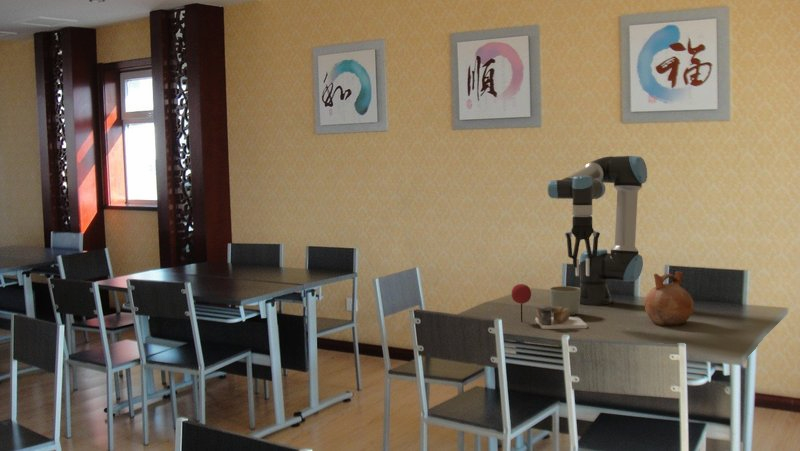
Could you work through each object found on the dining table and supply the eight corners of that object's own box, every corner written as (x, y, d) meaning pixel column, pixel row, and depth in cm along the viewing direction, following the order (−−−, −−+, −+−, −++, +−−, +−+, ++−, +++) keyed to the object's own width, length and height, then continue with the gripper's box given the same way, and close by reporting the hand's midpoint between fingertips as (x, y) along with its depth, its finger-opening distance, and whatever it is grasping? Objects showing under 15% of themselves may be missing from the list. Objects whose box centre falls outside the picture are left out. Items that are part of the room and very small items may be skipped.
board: (578, 319, 326) (578, 316, 326) (587, 328, 310) (587, 325, 310) (535, 320, 326) (535, 317, 326) (542, 329, 310) (542, 325, 310)
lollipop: (532, 320, 327) (532, 283, 325) (529, 324, 320) (529, 286, 318) (513, 319, 329) (513, 282, 328) (510, 323, 322) (509, 285, 321)
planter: (586, 314, 337) (586, 288, 336) (570, 319, 328) (570, 292, 327) (560, 310, 345) (560, 285, 344) (544, 315, 336) (544, 289, 335)
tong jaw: (569, 318, 321) (569, 302, 321) (557, 326, 308) (557, 309, 307) (550, 316, 325) (550, 301, 324) (538, 324, 311) (538, 308, 311)
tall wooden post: (545, 320, 325) (545, 304, 325) (552, 328, 311) (552, 311, 310) (536, 320, 325) (536, 304, 325) (542, 328, 311) (542, 311, 310)
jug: (668, 330, 304) (669, 276, 302) (633, 321, 320) (634, 271, 318) (704, 324, 313) (704, 272, 311) (668, 316, 329) (668, 267, 327)
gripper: (601, 214, 321) (601, 273, 323) (559, 215, 321) (559, 274, 323) (606, 216, 313) (605, 276, 315) (563, 216, 313) (563, 277, 315)
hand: (582, 275), depth 319 cm, fingers open, 3 cm apart
